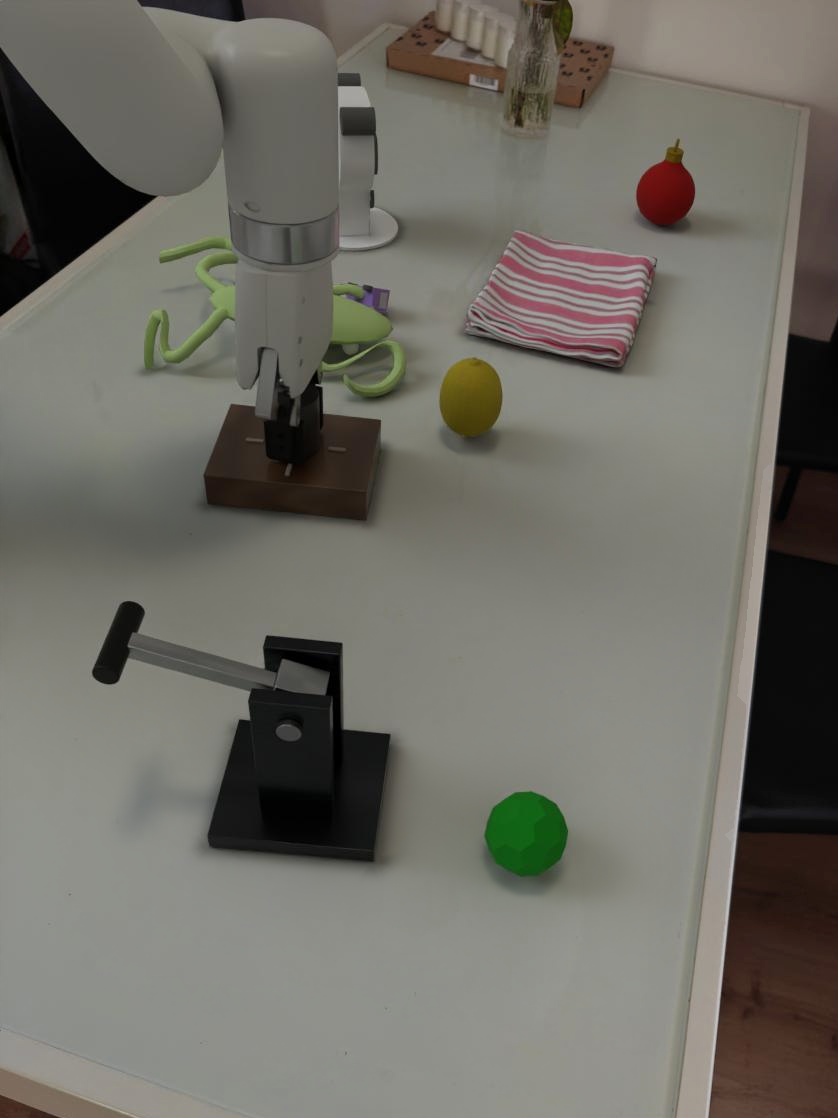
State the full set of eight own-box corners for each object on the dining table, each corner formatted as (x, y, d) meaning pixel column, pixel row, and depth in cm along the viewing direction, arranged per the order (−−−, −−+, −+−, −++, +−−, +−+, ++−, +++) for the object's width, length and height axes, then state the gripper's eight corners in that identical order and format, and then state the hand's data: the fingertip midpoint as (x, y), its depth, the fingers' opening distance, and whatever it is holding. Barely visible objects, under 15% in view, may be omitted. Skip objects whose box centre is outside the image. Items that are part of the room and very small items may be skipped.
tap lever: (89, 686, 55) (93, 658, 53) (116, 619, 58) (121, 591, 56) (309, 745, 57) (320, 720, 56) (323, 678, 61) (334, 653, 59)
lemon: (444, 413, 95) (450, 336, 89) (502, 425, 95) (512, 348, 89) (430, 448, 91) (435, 369, 86) (490, 460, 91) (500, 382, 85)
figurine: (178, 273, 108) (171, 221, 104) (427, 309, 108) (430, 259, 104) (113, 366, 96) (102, 311, 91) (396, 408, 95) (398, 354, 91)
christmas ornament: (681, 240, 124) (702, 156, 117) (625, 227, 125) (642, 142, 118) (692, 217, 129) (712, 134, 122) (637, 204, 130) (654, 122, 123)
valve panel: (206, 504, 83) (202, 472, 81) (233, 432, 90) (230, 401, 88) (366, 520, 84) (366, 490, 82) (380, 447, 91) (381, 417, 88)
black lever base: (208, 846, 62) (185, 725, 53) (240, 730, 68) (224, 604, 60) (373, 862, 62) (377, 744, 54) (390, 744, 69) (395, 621, 60)
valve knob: (311, 464, 83) (309, 409, 80) (264, 454, 84) (260, 399, 80) (326, 436, 86) (325, 381, 82) (280, 427, 86) (277, 372, 83)
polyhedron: (522, 807, 66) (531, 763, 63) (577, 858, 64) (590, 815, 60) (465, 850, 63) (471, 806, 60) (520, 905, 61) (530, 863, 58)
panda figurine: (407, 252, 116) (413, 112, 105) (306, 254, 113) (301, 111, 103) (388, 204, 124) (392, 69, 113) (293, 206, 121) (288, 68, 110)
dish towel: (458, 339, 104) (461, 307, 102) (514, 242, 120) (518, 212, 118) (622, 376, 102) (629, 345, 100) (657, 273, 118) (664, 243, 115)
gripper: (271, 170, 77) (283, 380, 91) (188, 273, 66) (215, 496, 79) (368, 187, 77) (365, 395, 90) (301, 293, 65) (309, 514, 79)
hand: (295, 440), depth 85 cm, fingers closed on valve knob, 4 cm apart
